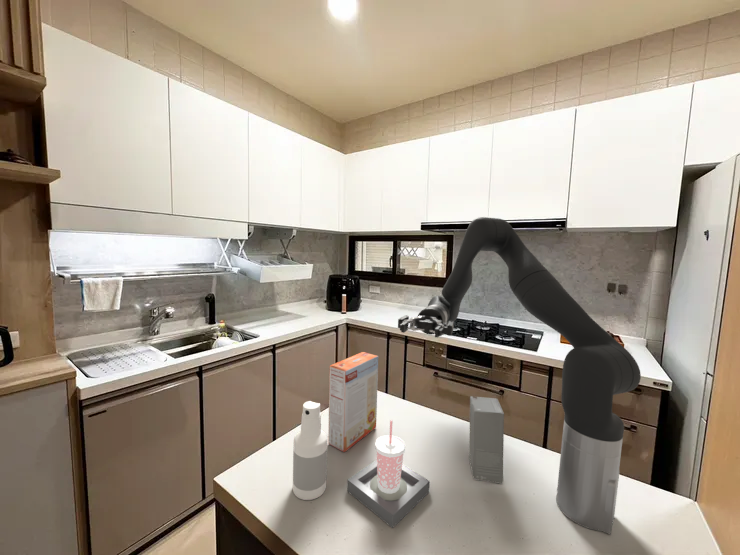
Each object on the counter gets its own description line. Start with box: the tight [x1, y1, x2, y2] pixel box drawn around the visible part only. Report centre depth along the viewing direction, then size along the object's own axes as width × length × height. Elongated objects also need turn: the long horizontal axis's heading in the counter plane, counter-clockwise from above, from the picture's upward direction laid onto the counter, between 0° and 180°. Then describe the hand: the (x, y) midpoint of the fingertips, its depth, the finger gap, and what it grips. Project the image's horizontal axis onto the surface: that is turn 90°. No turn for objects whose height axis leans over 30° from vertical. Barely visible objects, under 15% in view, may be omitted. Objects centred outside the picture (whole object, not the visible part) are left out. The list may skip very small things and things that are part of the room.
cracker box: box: [327, 351, 379, 453], centre depth 82 cm, size 14×6×21 cm, turn 144°
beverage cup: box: [375, 419, 406, 494], centre depth 64 cm, size 6×6×14 cm
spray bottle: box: [292, 400, 328, 501], centre depth 64 cm, size 7×7×18 cm
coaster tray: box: [346, 459, 431, 529], centre depth 64 cm, size 12×12×2 cm
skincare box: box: [468, 395, 505, 484], centre depth 72 cm, size 8×7×16 cm
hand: (419, 330), depth 77 cm, fingers open, 8 cm apart
